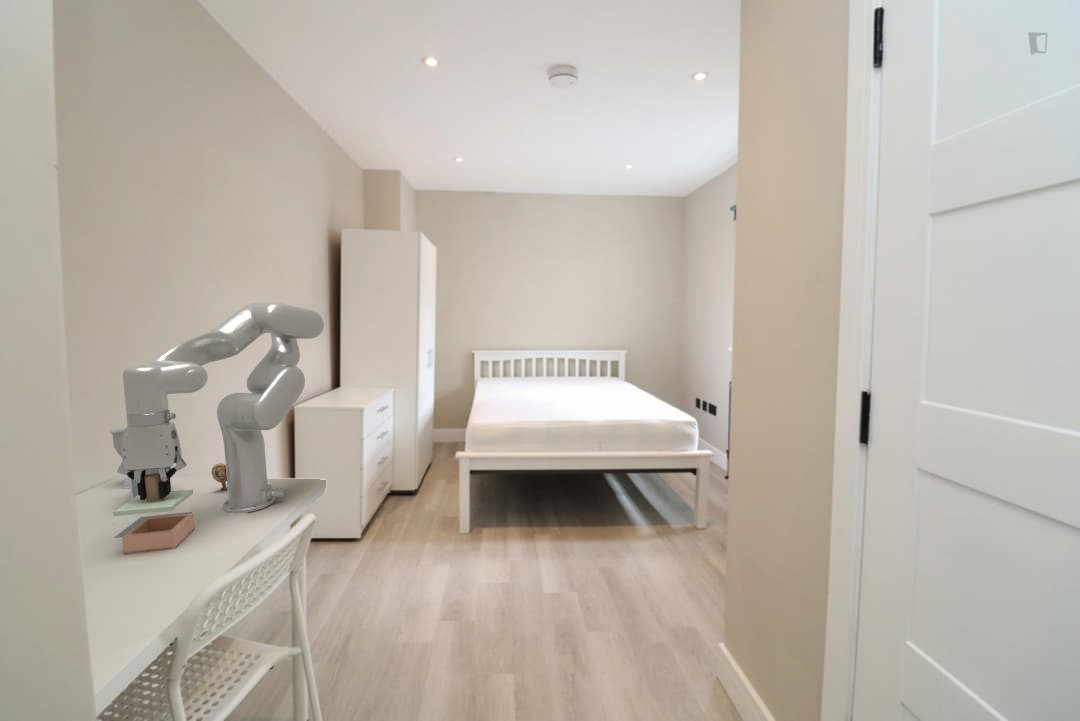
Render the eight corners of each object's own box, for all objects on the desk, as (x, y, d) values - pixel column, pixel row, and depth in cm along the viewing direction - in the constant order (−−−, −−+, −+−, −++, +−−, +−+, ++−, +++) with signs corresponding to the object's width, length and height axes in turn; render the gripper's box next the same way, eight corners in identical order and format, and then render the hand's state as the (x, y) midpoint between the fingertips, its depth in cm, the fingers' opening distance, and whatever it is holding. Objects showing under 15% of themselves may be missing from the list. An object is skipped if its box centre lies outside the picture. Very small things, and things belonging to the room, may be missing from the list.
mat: (193, 513, 131) (193, 511, 131) (171, 533, 119) (171, 531, 119) (141, 518, 128) (140, 516, 128) (113, 539, 116) (113, 537, 116)
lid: (193, 493, 120) (191, 465, 119) (171, 510, 109) (169, 480, 108) (141, 497, 117) (138, 469, 116) (113, 516, 106) (110, 485, 106)
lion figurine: (221, 496, 143) (219, 466, 142) (208, 494, 144) (205, 464, 143) (264, 479, 156) (262, 452, 156) (251, 477, 158) (249, 450, 157)
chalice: (120, 491, 147) (114, 433, 145) (112, 487, 151) (106, 430, 149) (150, 484, 153) (144, 428, 151) (141, 480, 157) (135, 425, 155)
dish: (194, 530, 121) (193, 513, 120) (175, 549, 111) (173, 531, 110) (147, 535, 118) (146, 517, 118) (124, 555, 108) (122, 536, 108)
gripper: (196, 414, 117) (202, 488, 119) (115, 418, 113) (123, 494, 115) (182, 420, 110) (188, 499, 111) (95, 425, 106) (103, 507, 107)
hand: (155, 496), depth 113 cm, fingers closed on lid, 3 cm apart
